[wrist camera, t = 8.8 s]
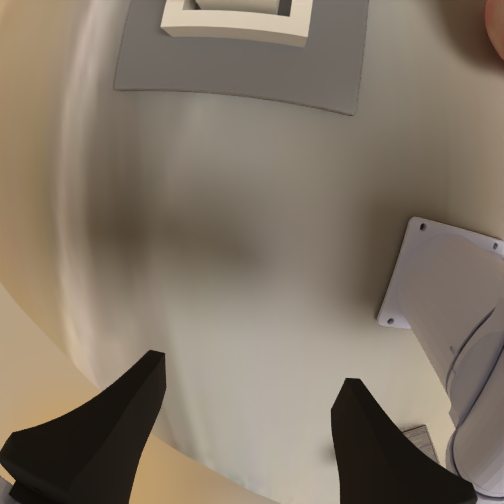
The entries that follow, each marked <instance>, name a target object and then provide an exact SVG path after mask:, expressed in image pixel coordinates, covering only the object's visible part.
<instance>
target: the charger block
mask: <svg viewBox="0 0 504 504" xmlns="http://www.w3.org/2000/svg"><path fill="white" fill-rule="evenodd" d="M196 2H197V3H198V5H199V7H200V8H201V10H222V11H240V12H253V13H263V14H272V15H277V14H278V8H279V3H280V0H196Z"/></svg>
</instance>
